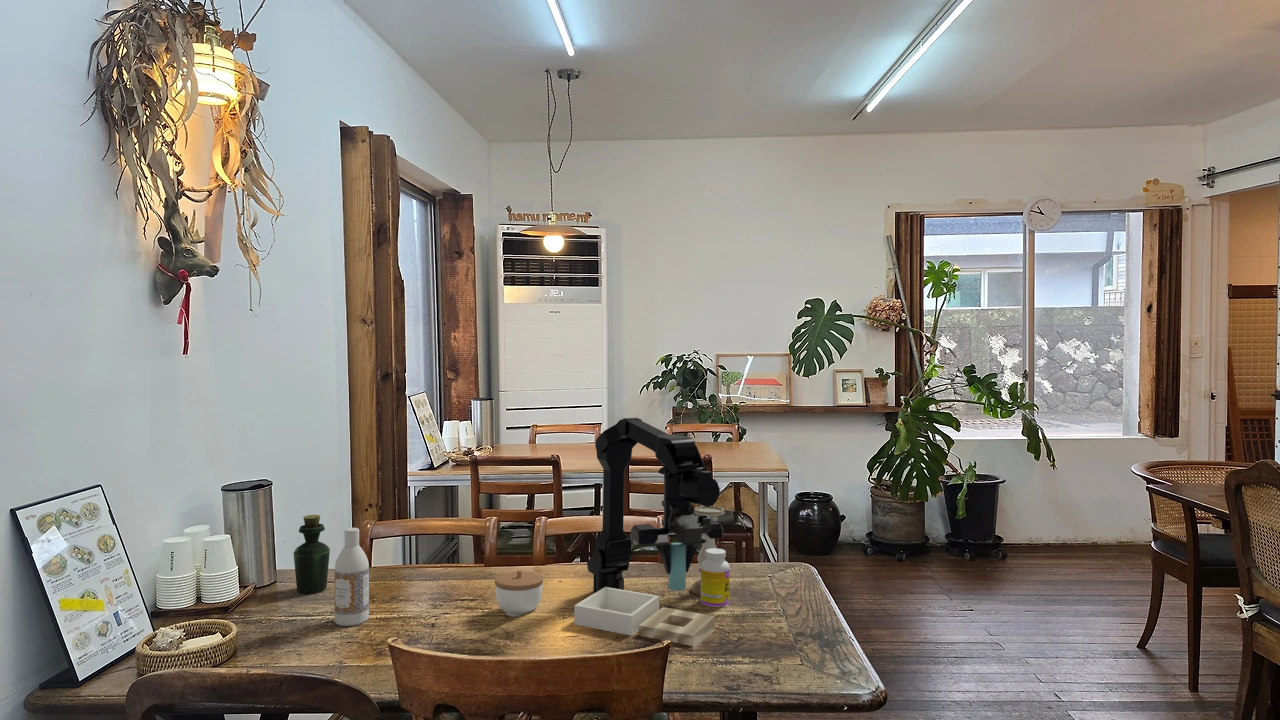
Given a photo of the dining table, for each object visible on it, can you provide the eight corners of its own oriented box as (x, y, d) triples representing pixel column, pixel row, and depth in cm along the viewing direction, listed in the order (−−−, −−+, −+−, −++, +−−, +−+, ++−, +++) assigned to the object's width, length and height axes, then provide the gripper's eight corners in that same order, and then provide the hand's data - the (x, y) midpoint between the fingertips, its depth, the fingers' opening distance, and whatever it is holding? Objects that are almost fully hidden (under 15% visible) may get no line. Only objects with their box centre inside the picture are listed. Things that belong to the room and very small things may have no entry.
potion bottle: (335, 584, 184) (335, 512, 184) (322, 595, 176) (322, 520, 176) (302, 584, 184) (302, 512, 183) (287, 595, 176) (287, 520, 175)
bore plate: (638, 639, 151) (638, 625, 151) (662, 620, 162) (662, 607, 161) (693, 651, 145) (693, 635, 145) (714, 630, 156) (714, 616, 156)
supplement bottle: (728, 612, 167) (728, 555, 167) (698, 609, 168) (699, 553, 168) (730, 602, 174) (731, 547, 173) (702, 600, 175) (702, 546, 175)
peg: (665, 589, 152) (665, 545, 152) (672, 584, 156) (672, 541, 156) (681, 591, 151) (682, 548, 151) (688, 586, 154) (688, 543, 154)
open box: (574, 628, 156) (574, 605, 156) (605, 608, 169) (605, 586, 169) (631, 640, 151) (631, 616, 150) (659, 618, 163) (659, 596, 163)
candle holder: (732, 589, 183) (733, 508, 182) (716, 599, 175) (717, 514, 175) (700, 583, 187) (701, 503, 187) (684, 592, 180) (684, 510, 180)
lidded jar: (552, 612, 166) (552, 570, 166) (514, 624, 158) (514, 581, 158) (523, 600, 174) (523, 561, 173) (485, 612, 166) (485, 570, 166)
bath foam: (327, 624, 158) (327, 531, 157) (349, 613, 164) (349, 524, 164) (354, 628, 156) (354, 534, 155) (375, 617, 162) (375, 526, 162)
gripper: (648, 508, 142) (647, 589, 143) (735, 502, 148) (734, 580, 149) (630, 497, 153) (629, 572, 153) (712, 492, 159) (711, 564, 159)
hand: (677, 572), depth 153 cm, fingers closed on peg, 4 cm apart
